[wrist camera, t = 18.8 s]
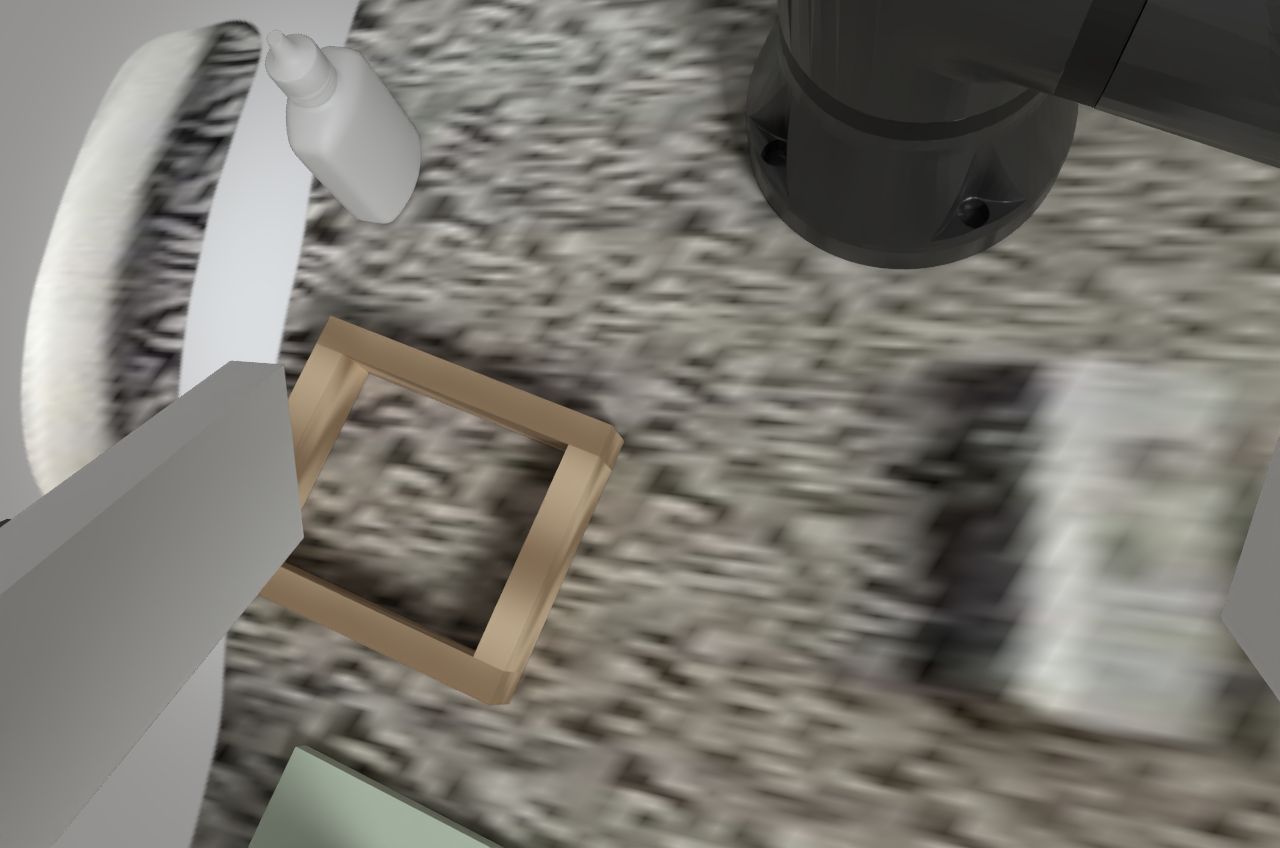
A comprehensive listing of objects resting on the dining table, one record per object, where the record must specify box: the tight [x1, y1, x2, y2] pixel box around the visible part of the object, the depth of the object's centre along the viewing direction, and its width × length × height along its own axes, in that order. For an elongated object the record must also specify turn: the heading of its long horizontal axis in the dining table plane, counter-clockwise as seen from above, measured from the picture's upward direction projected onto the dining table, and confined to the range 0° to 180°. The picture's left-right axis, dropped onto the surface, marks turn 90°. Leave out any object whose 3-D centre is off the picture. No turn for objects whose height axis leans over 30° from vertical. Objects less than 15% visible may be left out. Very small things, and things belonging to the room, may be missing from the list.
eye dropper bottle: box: [265, 30, 421, 224], centre depth 48 cm, size 4×6×12 cm
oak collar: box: [258, 316, 624, 705], centre depth 47 cm, size 13×15×3 cm
